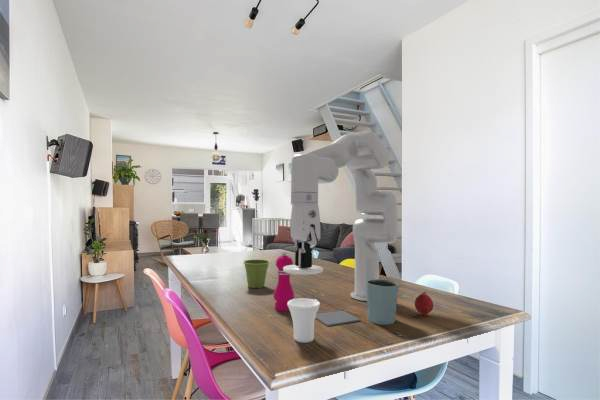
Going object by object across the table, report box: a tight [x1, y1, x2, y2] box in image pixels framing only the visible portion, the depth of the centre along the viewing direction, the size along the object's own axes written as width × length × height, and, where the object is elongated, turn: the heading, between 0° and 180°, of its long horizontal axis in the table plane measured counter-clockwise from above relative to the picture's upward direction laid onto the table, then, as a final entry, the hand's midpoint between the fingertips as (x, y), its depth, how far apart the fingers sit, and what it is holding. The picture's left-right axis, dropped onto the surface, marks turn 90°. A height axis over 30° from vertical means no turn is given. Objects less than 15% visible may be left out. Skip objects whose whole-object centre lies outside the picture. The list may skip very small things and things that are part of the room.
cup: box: [287, 297, 321, 344], centre depth 90 cm, size 9×9×10 cm
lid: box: [283, 248, 324, 276], centre depth 91 cm, size 11×11×6 cm
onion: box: [414, 291, 434, 317], centre depth 111 cm, size 6×6×8 cm
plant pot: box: [243, 258, 271, 289], centre depth 148 cm, size 12×12×11 cm
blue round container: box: [366, 278, 400, 326], centre depth 106 cm, size 10×10×12 cm
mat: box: [315, 310, 361, 327], centre depth 106 cm, size 12×10×1 cm
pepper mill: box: [273, 251, 295, 312], centre depth 117 cm, size 7×7×20 cm
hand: (303, 265), depth 91 cm, fingers closed on lid, 2 cm apart
